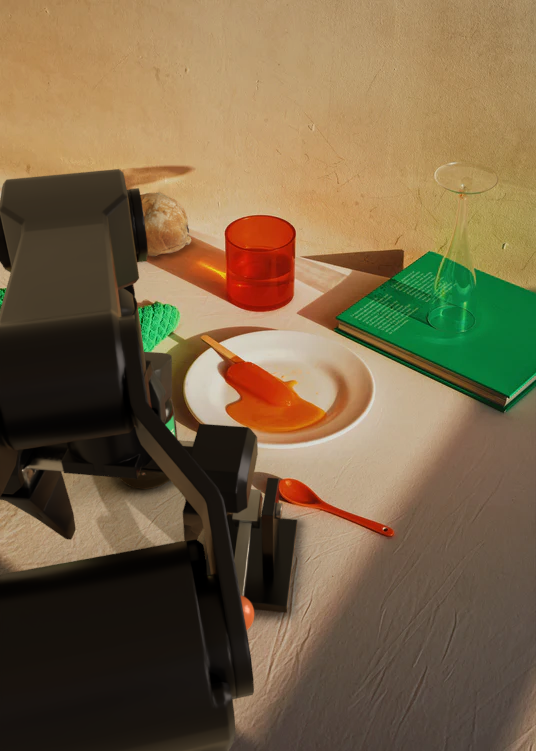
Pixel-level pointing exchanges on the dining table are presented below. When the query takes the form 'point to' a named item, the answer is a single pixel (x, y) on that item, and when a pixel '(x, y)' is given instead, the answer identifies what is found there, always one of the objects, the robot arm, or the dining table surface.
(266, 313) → the dining table surface
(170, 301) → the dining table surface
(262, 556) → the bracket
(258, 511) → the lever
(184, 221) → the bread roll
